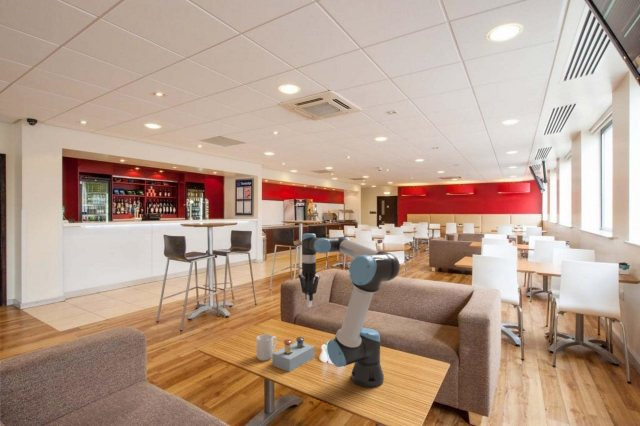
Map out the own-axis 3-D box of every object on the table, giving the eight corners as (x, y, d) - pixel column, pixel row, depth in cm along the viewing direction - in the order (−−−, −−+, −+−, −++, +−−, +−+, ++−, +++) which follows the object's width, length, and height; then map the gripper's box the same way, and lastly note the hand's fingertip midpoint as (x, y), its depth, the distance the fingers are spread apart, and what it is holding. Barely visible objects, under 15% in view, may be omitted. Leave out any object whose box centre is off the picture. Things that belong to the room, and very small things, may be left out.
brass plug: (293, 358, 165) (293, 340, 166) (287, 360, 162) (288, 343, 162) (287, 356, 168) (287, 338, 168) (282, 358, 165) (282, 341, 165)
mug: (263, 363, 167) (263, 341, 167) (253, 357, 173) (253, 337, 173) (280, 355, 175) (281, 335, 175) (270, 351, 181) (271, 331, 181)
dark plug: (305, 354, 174) (305, 338, 174) (300, 357, 170) (300, 340, 170) (299, 352, 176) (299, 336, 176) (294, 355, 173) (294, 338, 173)
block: (314, 357, 174) (314, 346, 174) (289, 371, 157) (289, 359, 158) (297, 351, 181) (297, 341, 181) (272, 364, 165) (272, 353, 165)
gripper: (323, 262, 170) (323, 306, 170) (303, 260, 178) (303, 303, 177) (315, 263, 164) (315, 310, 163) (295, 262, 171) (295, 306, 171)
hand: (309, 306), depth 170 cm, fingers closed
